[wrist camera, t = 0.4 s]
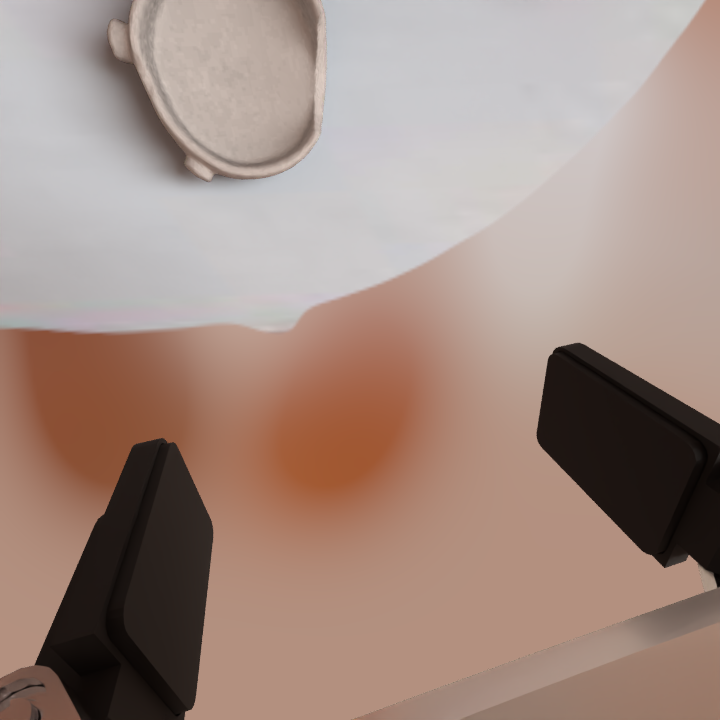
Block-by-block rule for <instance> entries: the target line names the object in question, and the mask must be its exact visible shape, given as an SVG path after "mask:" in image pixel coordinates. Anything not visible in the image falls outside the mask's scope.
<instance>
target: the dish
mask: <svg viewBox="0 0 720 720" xmlns="http://www.w3.org/2000/svg"><path fill="white" fill-rule="evenodd" d="M107 37H108V41H109V44H110V46H111V49H112V51H113V54H114V55H115V57H116V58H117V59H118V60H120V61H122V62H125V63H131V64H134V65H135V67H136V69H137V72H138V74H139V76H140V79H141V81H142V83H143V85H144V88H145V90H146V92H147V94H148V97H149V99H150V101H151V103H152V105H153V108H154V110H155V112H156V114H157V115H158V117H159V119H160V121H161V122H162V124H163V125H164V127H165V128H166V130H167V131H168V133H169V134H170V135H171V137H172V138H173V139H174V140H175V142H176V143H177V144H178V146H179V147H180V148H181V149H182V150H183V151H184V152H185V154H186V158H185V161H184V165H185V167H186V168H188V169H189V171H191V172H192V173H193V174H194V175H195V176H197V177H198V178H201V179H203V180H204V181H207V182H210V181H211V180H212V178H213V176H214V175H215V174H219V175H223V176H226V177H230V178H234V179H260V178H266V177H270V176H274V175H277V174H279V173H282V172H284V171H286V170H288V169H290V168H292V167H293V166H295V165H296V164H297V163H298V162H300V161H301V160H302V159H303V158H304V157H305V156H306V155H307V154H308V153H309V152H310V151H311V149H312V148H313V146H314V145H315V143H316V142H317V140H318V138H319V136H320V134H321V124H322V119H323V106H324V98H325V88H326V69H327V57H326V53H327V42H326V18H325V13H324V9H323V5H322V2H321V0H133V2H132V5H131V9H130V13H129V21H128V24H127V23H125V22H122V21H120V20H118V19H112V20H111V21H110V23H109V25H108V29H107Z"/></svg>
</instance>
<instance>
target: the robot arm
mask: <svg viewBox="0 0 720 720" xmlns="http://www.w3.org/2000/svg"><path fill="white" fill-rule="evenodd" d="M537 439H538V442H539V444H540V446H541V447H542V448H543V449H544V450H545V451H546V452H547V453H548V454H549V455H550V457H552V459H553V460H554V461H555V462H556V463H557V464H558V465H559V466H560V467H561V468H562V469H563V470H564V471H565V472H566V473H567V474H568V475H569V476H570V477H571V478H572V479H573V480H574V481H575V482H576V483H577V484H578V485H579V486H580V487H581V488H582V489H583V490H584V492H585V493H586V494H587V495H588V496H589V497H590V498H591V499H592V500H593V501H594V502H595V503H596V504H597V505H598V506H599V507H600V508H601V509H602V510H603V511H604V512H605V513H606V514H607V515H608V516H609V517H610V518H611V519H612V520H613V521H614V522H615V524H617V525H618V527H619V528H621V530H622V531H623V532H624V533H625V534H626V535H627V536H628V537H629V538H630V539H631V540H632V541H633V542H634V543H635V544H636V545H637V546H638V547H639V548H640V549H641V550H642V551H643V552H645V553H646V554H650V555H652V556H653V557H654V558H655V559H656V560H657V561H658V562H659V563H660V564H661V565H662V566H663V567H664V568H666V567H669V566H672V565H675V564H678V563H681V562H683V561H686V559H687V557H688V555H690V556H691V557H692V558H693V559H694V560H696V561H697V562H698V567H699V571H700V575H701V579H702V584H703V587H704V592H705V593H702V594H699V595H696V596H694V597H691V598H688V599H685V600H682V601H679V602H676V603H674V604H671V605H668V606H665V607H662V608H659V609H657V610H654V611H651V612H648V613H645V614H642V615H640V616H637V617H634V618H631V619H628V620H626V621H623V622H620V623H617V624H614V625H612V626H609V627H606V628H603V629H600V630H598V631H595V632H592V633H589V634H587V635H584V636H581V637H578V638H576V639H573V640H570V641H567V642H564V643H562V644H559V645H556V646H553V647H551V648H548V649H545V650H542V651H539V652H537V653H534V654H531V655H528V656H526V657H523V658H520V659H517V660H514V661H512V662H509V663H506V664H503V665H500V666H498V667H495V668H492V669H489V670H487V671H484V672H481V673H478V674H476V675H473V676H470V677H467V678H464V679H462V680H459V681H456V682H453V683H451V684H448V685H445V686H443V687H440V688H437V689H434V690H432V691H429V692H426V693H424V694H421V695H418V696H416V697H413V698H410V699H407V700H404V701H402V702H399V703H396V704H393V705H391V706H388V707H385V708H383V709H380V710H377V711H375V712H372V713H369V714H366V715H364V716H361V717H358V718H355V719H353V720H720V424H719V423H717V422H715V421H713V420H712V419H710V418H708V417H707V416H705V415H703V414H702V413H700V412H698V411H696V410H695V409H693V408H691V407H690V406H688V405H686V404H684V403H683V402H681V401H679V400H678V399H676V398H674V397H672V396H671V395H669V394H667V393H666V392H664V391H662V390H661V389H659V388H657V387H655V386H654V385H652V384H650V383H649V382H647V381H645V380H644V379H642V378H640V377H638V376H637V375H635V374H633V373H632V372H630V371H628V370H626V369H625V368H623V367H621V366H620V365H618V364H616V363H615V362H613V361H611V360H609V359H608V358H606V357H604V356H602V355H601V354H599V353H597V352H596V351H594V350H592V349H591V348H589V347H587V346H586V345H584V344H581V343H574V344H570V345H566V346H561V347H558V348H556V349H555V350H554V351H553V354H552V355H550V356H549V358H548V363H547V369H546V376H545V382H544V389H543V395H542V402H541V409H540V415H539V421H538V428H537ZM212 543H213V526H212V522H211V519H210V517H209V515H208V513H207V510H206V508H205V506H204V504H203V502H202V499H201V497H200V495H199V493H198V491H197V488H196V486H195V484H194V482H193V480H192V478H191V475H190V473H189V471H188V469H187V467H186V465H185V463H184V460H183V458H182V456H181V454H180V451H179V449H178V447H177V445H176V444H175V443H173V442H172V443H167V441H166V440H165V439H163V438H161V439H156V440H152V441H147V442H143V443H138V444H136V445H134V446H133V447H132V449H131V452H130V454H129V456H128V459H127V461H126V464H125V466H124V468H123V471H122V473H121V475H120V478H119V481H118V483H117V485H116V487H115V490H114V492H113V495H112V497H111V500H110V502H109V505H108V507H107V509H106V512H105V514H104V515H102V516H101V517H100V518H99V519H98V521H97V522H96V524H95V526H94V528H93V530H92V532H91V535H90V537H89V540H88V542H87V544H86V547H85V549H84V551H83V554H82V556H81V558H80V560H79V563H78V565H77V567H76V570H75V572H74V574H73V577H72V579H71V581H70V584H69V586H68V588H67V591H66V593H65V595H64V598H63V600H62V602H61V605H60V607H59V609H58V612H57V614H56V616H55V619H54V621H53V623H52V626H51V628H50V630H49V633H48V635H47V637H46V639H45V642H44V644H43V647H42V649H41V651H40V654H39V656H38V658H37V660H36V663H35V665H34V666H29V667H25V668H21V669H18V670H16V671H14V672H12V673H10V674H8V675H6V676H4V677H2V678H0V720H184V717H185V711H188V710H191V709H192V708H193V706H194V703H195V698H196V689H197V681H198V672H199V662H200V653H201V644H202V635H203V626H204V616H205V607H206V598H207V589H208V580H209V571H210V570H209V569H210V561H211V552H212Z"/></svg>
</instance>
